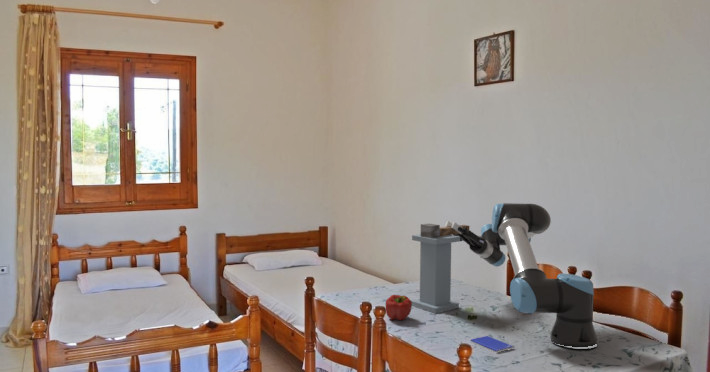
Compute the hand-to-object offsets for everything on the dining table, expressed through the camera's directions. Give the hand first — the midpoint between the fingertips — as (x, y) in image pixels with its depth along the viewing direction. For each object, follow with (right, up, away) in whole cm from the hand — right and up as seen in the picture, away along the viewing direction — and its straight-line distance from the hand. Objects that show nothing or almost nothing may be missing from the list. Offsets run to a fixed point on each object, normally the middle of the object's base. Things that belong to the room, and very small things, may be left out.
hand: (449, 224), depth 244 cm
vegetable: (-23, -36, -20) cm, 47 cm away
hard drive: (+6, -39, -49) cm, 63 cm away
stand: (-7, -35, -3) cm, 35 cm away
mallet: (-1, -4, 0) cm, 4 cm away
